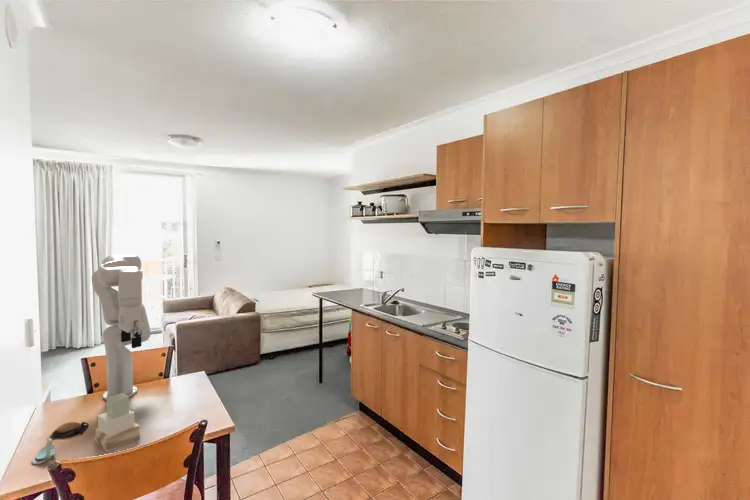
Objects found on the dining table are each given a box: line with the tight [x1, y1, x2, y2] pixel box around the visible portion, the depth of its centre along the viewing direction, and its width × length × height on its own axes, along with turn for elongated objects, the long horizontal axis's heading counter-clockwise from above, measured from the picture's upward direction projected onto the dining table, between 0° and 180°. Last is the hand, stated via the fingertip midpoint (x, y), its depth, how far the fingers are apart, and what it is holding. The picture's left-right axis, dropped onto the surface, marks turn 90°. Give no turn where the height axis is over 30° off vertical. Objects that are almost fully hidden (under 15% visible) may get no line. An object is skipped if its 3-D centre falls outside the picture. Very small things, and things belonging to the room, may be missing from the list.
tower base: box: [94, 422, 141, 453], centre depth 128 cm, size 10×10×5 cm
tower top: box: [97, 409, 136, 437], centre depth 128 cm, size 8×8×5 cm
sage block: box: [106, 393, 130, 419], centre depth 128 cm, size 5×5×6 cm
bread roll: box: [46, 421, 90, 441], centre depth 133 cm, size 11×8×4 cm
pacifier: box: [31, 437, 57, 465], centre depth 118 cm, size 7×6×6 cm
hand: (131, 344), depth 142 cm, fingers open, 9 cm apart
